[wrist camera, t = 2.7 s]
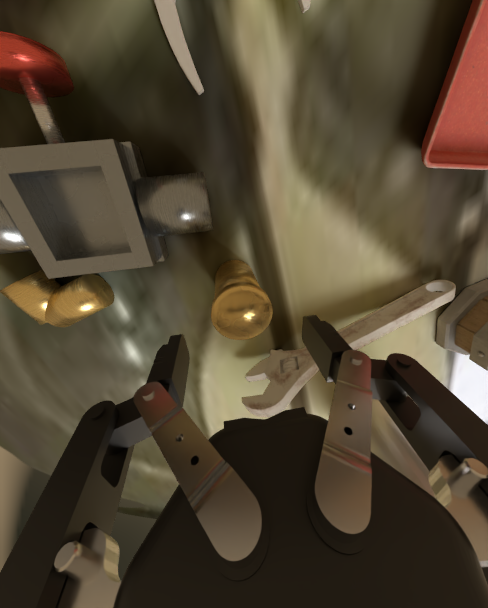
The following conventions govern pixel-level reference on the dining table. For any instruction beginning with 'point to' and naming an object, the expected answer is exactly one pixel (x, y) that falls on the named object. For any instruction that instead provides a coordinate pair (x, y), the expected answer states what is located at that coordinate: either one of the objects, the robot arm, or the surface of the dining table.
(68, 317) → the brass elbow
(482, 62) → the plant saucer
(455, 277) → the dining table surface
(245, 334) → the brass knob
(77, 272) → the valve body
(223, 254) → the dining table surface
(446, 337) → the tankard
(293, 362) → the wrench
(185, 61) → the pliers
